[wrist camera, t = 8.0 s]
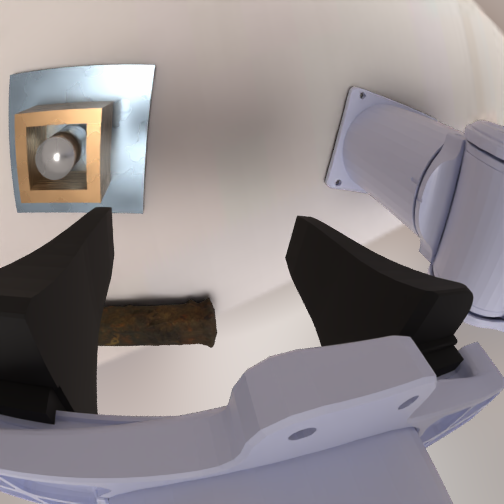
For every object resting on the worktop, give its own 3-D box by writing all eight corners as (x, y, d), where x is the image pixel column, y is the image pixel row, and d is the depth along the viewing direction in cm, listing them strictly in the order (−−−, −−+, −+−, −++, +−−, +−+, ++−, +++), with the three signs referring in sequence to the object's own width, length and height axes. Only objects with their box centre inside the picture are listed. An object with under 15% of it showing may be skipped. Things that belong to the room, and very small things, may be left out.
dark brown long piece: (213, 290, 27) (222, 329, 23) (210, 321, 29) (217, 360, 25) (13, 284, 21) (-3, 321, 18) (25, 316, 23) (13, 352, 20)
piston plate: (155, 65, 15) (149, 64, 12) (143, 209, 21) (138, 240, 17) (14, 74, 12) (-18, 80, 9) (20, 208, 18) (-3, 237, 15)
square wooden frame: (113, 101, 16) (102, 108, 13) (110, 182, 18) (100, 202, 16) (36, 105, 14) (14, 114, 11) (39, 183, 17) (20, 203, 14)
